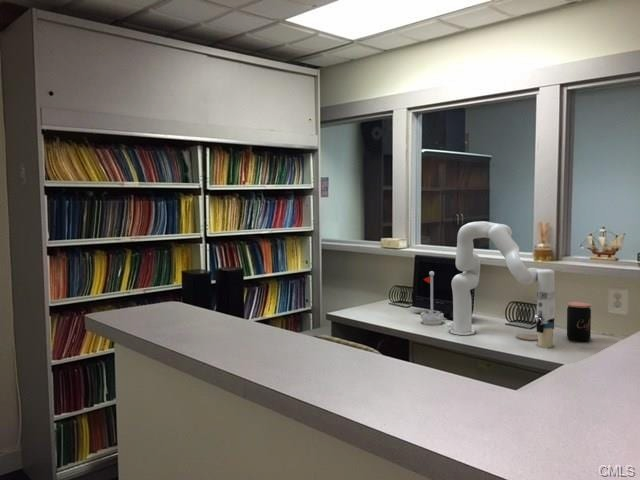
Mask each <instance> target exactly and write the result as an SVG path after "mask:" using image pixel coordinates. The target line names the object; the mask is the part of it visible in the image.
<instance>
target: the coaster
mask: <svg viewBox="0 0 640 480" xmlns="http://www.w3.org/2000/svg"><path fill="white" fill-rule="evenodd" d="M516 338H517V339H519V340H522V341H527V342H534V341H535V342H536V341H538V334H537V335H536V334H531V333H521V334H518V335H516Z"/></svg>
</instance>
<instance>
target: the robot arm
mask: <svg viewBox="0 0 640 480" xmlns="http://www.w3.org/2000/svg"><path fill="white" fill-rule="evenodd" d="M512 236H513V230H512V229H511V227H510V226H509V225H507V224H505V223H504V224H502V223H496V222H490V221H485V220H483V221H482V220H481V221H472V222H468V223H466V224H464V225H462V226H461V227H460V228H459V230H458V232H457V236H456V237H457V238H456V239H457V240H456V241H457V242H456V253H455V268H456V269H457V270H458V271H459V272H461V273H457V274H456V275H454V277H452V280H451V285H450V286H451V290H452V307H453V308H452V323H451V322H447V323H446V328H450V331H449V332H450V333H451V334H453V335H459V336H471V335H474V334H475V333H476V331H475V329H474V328H473V326H472V325H473V308H472V307H473V303H472V302H473V301H472V299H473V298H472V294H471V290H474V289H475V288H477V287H478V285H479V283H480V275H481V274H480V273H481V258H480V256H479V255H478V254H477V253H476V252H474V250H475V249H474V248H475V247H474V239H481V238H486V239H490V240H491V242H492V243H493V244H494V246H495V247H496V248H497V249H498V251H499V252H500V253H501V255H502V256H503V258H504V261H505V264H506V266H507V269H508V270H509V272H510V273H511V275H512V276H513V277H514V279H515V280H516V281H517V283H519V284H521V285H523V286H528V285H531V284H535V283H537V285H536V288H537V290H536V298H537V301H536V314H535V315H534V319H535V324H536V333H538V332H540V333H543V332H544V325H543V322H544V321H550V322H553V330H555V321H556V320H555V318H556V316H557V315H556V314H557V309H556V299H555V280H556V279H555V278H556V277H555V276H556V274H555V271H554V270H553V269H549V268H537V267H526V266H525V264H524V263H523V261H522V259H521V257H520V246H519V245H518V244H517V243H516V242H515V240H514V239H513V238H512Z"/></svg>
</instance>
